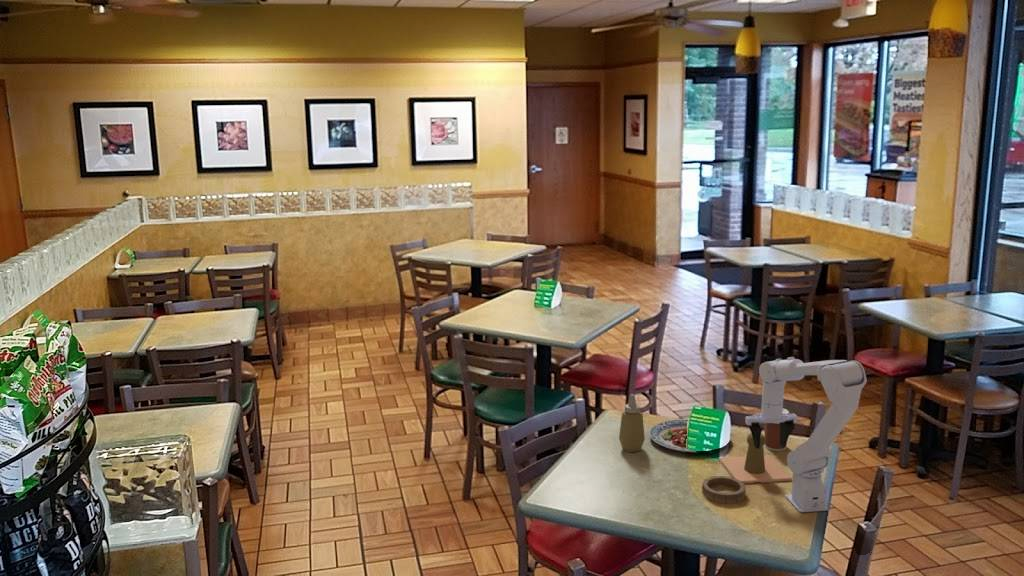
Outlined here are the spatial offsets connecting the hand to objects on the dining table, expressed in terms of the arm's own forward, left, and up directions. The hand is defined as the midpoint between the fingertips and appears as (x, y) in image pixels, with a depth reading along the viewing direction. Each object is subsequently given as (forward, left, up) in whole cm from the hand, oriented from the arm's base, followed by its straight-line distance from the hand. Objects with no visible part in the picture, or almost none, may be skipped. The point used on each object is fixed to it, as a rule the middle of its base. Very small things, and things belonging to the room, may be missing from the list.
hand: (769, 446), depth 234 cm
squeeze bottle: (+27, +33, -11) cm, 44 cm away
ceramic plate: (+31, +13, -11) cm, 35 cm away
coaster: (+7, +1, -10) cm, 12 cm away
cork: (+6, +2, -10) cm, 11 cm away
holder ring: (-6, +15, -10) cm, 20 cm away
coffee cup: (+22, -12, -11) cm, 27 cm away
